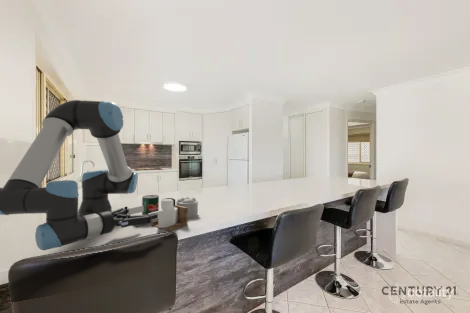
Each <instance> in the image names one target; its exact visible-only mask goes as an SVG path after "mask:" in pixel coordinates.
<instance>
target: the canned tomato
mask: <svg viewBox="0 0 470 313" xmlns="http://www.w3.org/2000/svg"><path fill="white" fill-rule="evenodd" d="M141 198H142V199H141V202H142V203H141V204H142V205H143V206H144V212H141V215H148V214H149V213H153V212H157V211H160V210H159V203H160V196H159V194H148V195H143V196H142V197H141ZM142 205H141V206H142Z"/></svg>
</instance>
